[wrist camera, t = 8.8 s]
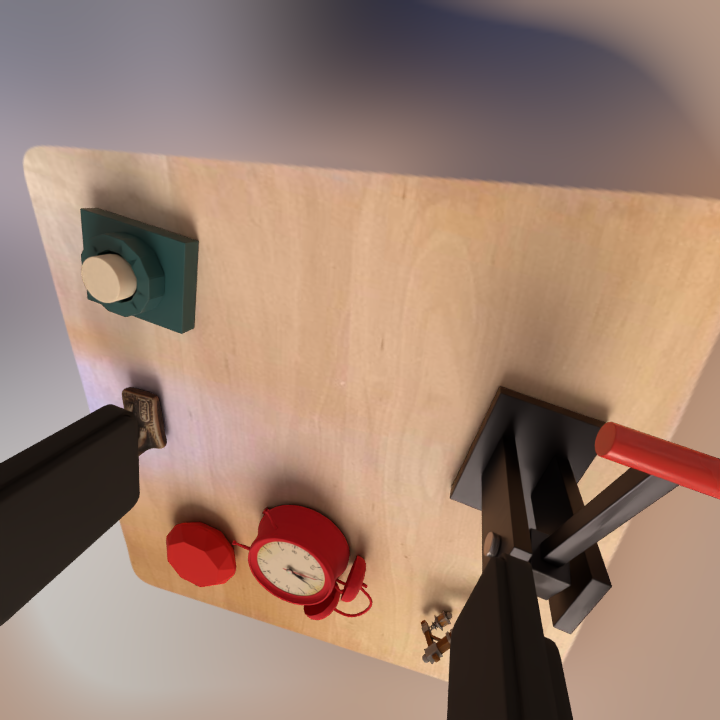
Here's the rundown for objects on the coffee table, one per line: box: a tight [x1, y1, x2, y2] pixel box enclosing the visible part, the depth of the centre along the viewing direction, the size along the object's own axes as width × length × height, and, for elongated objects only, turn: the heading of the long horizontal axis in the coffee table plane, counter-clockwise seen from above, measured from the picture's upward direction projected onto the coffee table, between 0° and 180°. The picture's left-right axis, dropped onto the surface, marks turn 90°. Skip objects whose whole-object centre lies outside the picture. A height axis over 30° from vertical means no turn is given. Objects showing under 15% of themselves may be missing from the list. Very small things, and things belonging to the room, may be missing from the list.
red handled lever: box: [528, 422, 720, 600], centre depth 19 cm, size 13×5×2 cm, turn 166°
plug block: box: [80, 208, 199, 334], centre depth 33 cm, size 8×10×4 cm
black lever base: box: [450, 386, 612, 634], centre depth 26 cm, size 11×8×12 cm
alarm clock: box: [232, 505, 372, 620], centre depth 40 cm, size 10×6×15 cm
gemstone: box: [166, 522, 236, 587], centre depth 46 cm, size 9×9×3 cm
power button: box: [81, 254, 137, 303], centre depth 31 cm, size 4×4×2 cm
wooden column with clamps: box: [421, 611, 453, 664], centre depth 39 cm, size 2×8×4 cm, turn 128°
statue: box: [122, 387, 167, 456], centre depth 32 cm, size 4×7×20 cm, turn 176°
